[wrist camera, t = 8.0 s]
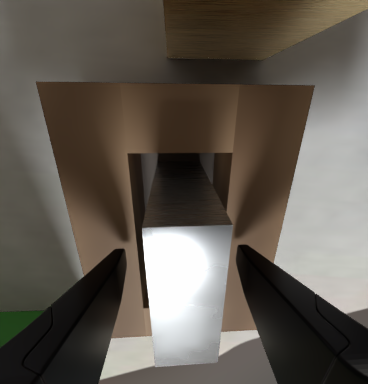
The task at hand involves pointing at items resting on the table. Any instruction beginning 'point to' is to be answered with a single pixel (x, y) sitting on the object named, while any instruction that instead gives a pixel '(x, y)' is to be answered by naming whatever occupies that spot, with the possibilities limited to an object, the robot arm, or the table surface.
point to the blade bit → (185, 263)
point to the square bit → (248, 25)
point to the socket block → (173, 151)
